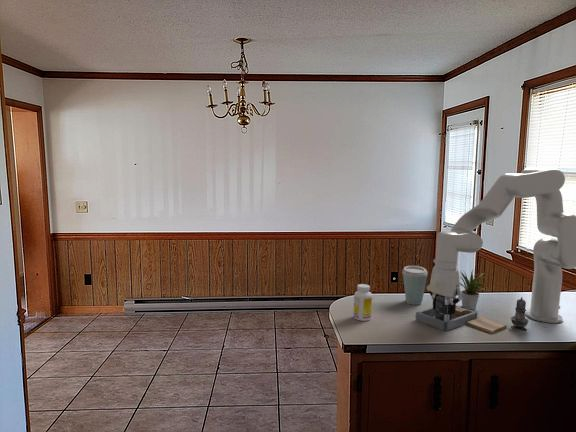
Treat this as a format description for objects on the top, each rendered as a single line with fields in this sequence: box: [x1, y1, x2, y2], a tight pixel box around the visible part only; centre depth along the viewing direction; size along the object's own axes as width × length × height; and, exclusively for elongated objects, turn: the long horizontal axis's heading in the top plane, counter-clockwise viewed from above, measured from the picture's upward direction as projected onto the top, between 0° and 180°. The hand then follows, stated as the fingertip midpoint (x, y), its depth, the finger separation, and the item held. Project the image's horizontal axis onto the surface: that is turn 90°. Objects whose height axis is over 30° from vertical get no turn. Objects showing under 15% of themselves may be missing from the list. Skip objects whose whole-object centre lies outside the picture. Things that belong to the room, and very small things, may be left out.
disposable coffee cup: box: [401, 265, 429, 306], centre depth 182 cm, size 11×11×15 cm
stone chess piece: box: [510, 296, 530, 332], centre depth 156 cm, size 6×6×12 cm
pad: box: [465, 316, 508, 335], centre depth 158 cm, size 10×10×1 cm
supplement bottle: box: [353, 283, 373, 322], centre depth 162 cm, size 7×7×13 cm
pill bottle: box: [434, 295, 452, 322], centre depth 161 cm, size 6×6×11 cm
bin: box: [415, 305, 478, 332], centre depth 163 cm, size 20×13×3 cm, turn 126°
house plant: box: [459, 268, 486, 310], centre depth 177 cm, size 14×14×16 cm
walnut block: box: [452, 306, 467, 319], centre depth 165 cm, size 4×4×4 cm
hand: (443, 310), depth 161 cm, fingers closed on pill bottle, 6 cm apart
